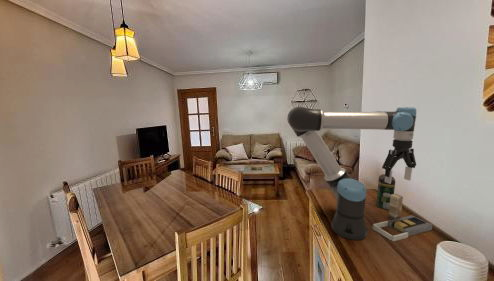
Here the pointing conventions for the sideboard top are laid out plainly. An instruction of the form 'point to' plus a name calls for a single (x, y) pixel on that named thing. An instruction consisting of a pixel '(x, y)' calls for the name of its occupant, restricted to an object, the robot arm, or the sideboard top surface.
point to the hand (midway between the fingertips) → (397, 181)
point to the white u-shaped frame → (387, 235)
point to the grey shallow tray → (419, 228)
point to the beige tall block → (395, 206)
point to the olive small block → (408, 223)
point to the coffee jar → (384, 192)
